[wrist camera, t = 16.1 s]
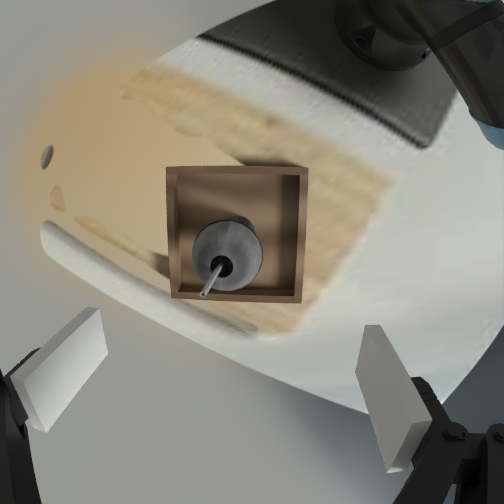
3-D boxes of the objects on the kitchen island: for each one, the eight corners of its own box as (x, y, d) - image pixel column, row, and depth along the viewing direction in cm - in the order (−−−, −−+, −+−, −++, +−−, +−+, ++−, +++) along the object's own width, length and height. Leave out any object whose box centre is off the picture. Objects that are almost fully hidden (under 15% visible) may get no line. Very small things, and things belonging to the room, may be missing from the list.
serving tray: (173, 166, 43) (166, 166, 39) (305, 167, 42) (308, 167, 38) (178, 288, 47) (171, 298, 44) (299, 293, 47) (301, 303, 43)
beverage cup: (276, 232, 43) (281, 285, 24) (239, 268, 45) (216, 343, 26) (237, 194, 42) (209, 217, 23) (201, 232, 44) (149, 283, 25)
